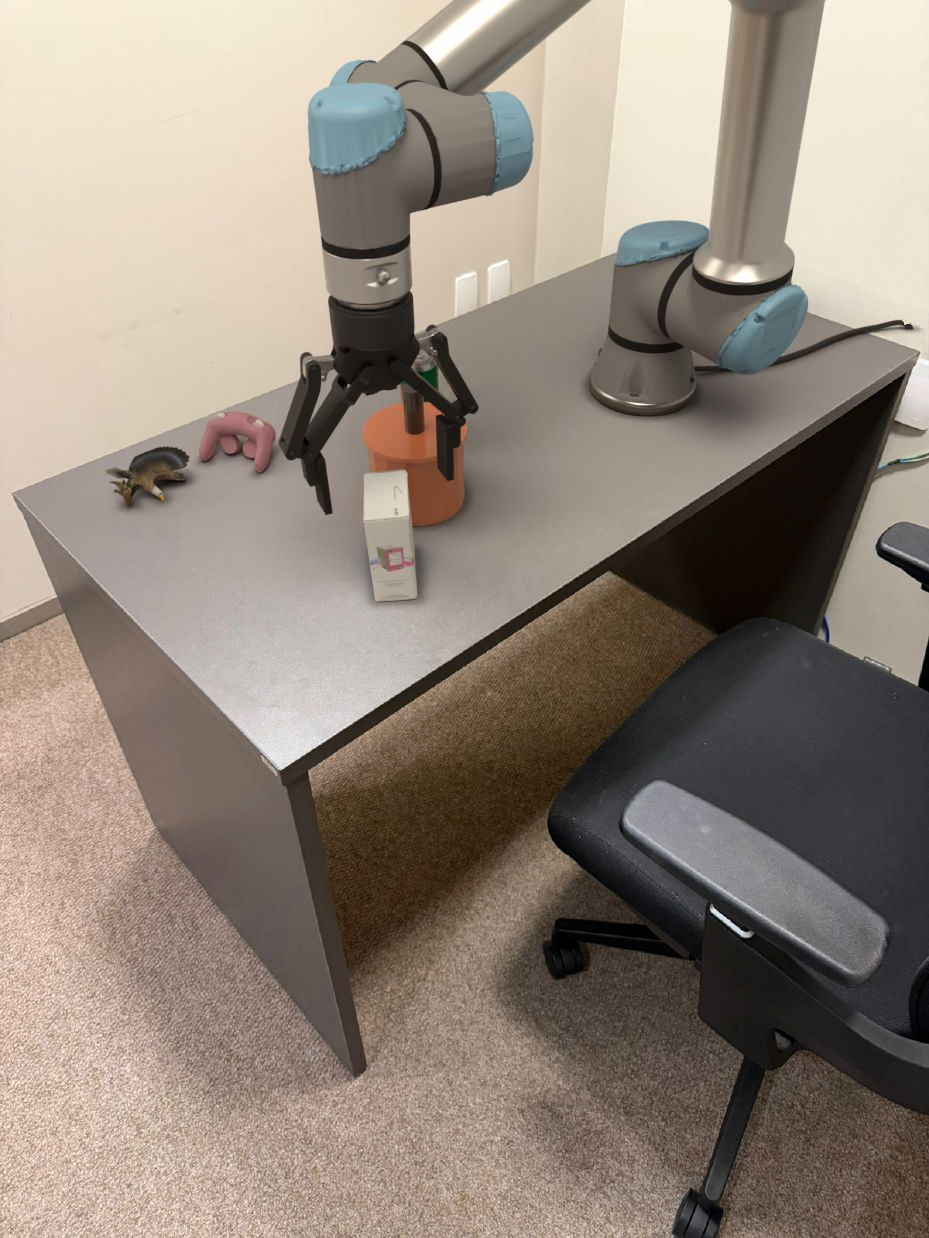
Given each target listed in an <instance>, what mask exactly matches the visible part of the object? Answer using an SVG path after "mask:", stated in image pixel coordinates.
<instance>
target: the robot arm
mask: <svg viewBox="0 0 929 1238" xmlns="http://www.w3.org/2000/svg"><path fill="white" fill-rule="evenodd" d="M591 1H592V0H452V1H450V2H449V3H448V4H446V6H444V7H443V8H442V9H440V11H438V12H436V13H435V15H433V16H432V17H431V18H430V19H429V20H427V21H426V22H425V23H424V24H422V25H421V27H419V28H417V29H416V31H414V32H413V33H412V34H411V35H409V36H408V37H407V38H406V39H404V40H403V41H402V42H400V44H398V45H397V46H396V47H395V48H394V49H392V50H391V51H390V52H388V53H387V54H386V55H385V56H383V57H382V58H381V59H379V60H378V61H376V60H373V59H356V60H351V61H348V62H346V63H345V64H343V65H342V66H340V68H338V70H336V71H335V73H334V75H333V76H332V78H331V80H330V82H329V85H328V86H327V87H324V88H322V89H320V90H318V91H317V92H316V93H314V95H313V96H312V97H311V98H310V100H309V101H308V105H307V132H308V133H307V134H308V148H309V151H308V152H309V154H308V162H309V165H310V168H311V172H312V178H313V185H314V193H315V201H316V208H317V209H316V210H317V216H318V223H319V225H318V226H319V231H320V232H319V233H320V239H321V240H320V242H321V251H322V259H323V260H322V261H323V271H324V280H325V289H326V292H327V293H328V294H329V296H328V299H327V305H328V312H329V322H330V330H331V339H332V348H331V351H330V354H325V355H315V356H314V355H313V354H312V353H311V352H310V351H305V352H303V353H301V354H300V356H299V371H300V373H299V374H300V377H299V379H298V382H297V384H296V388H295V391H294V394H293V396H292V400H291V403H290V406H289V409H288V412H287V415H286V417H285V421H284V425H283V427H282V430H281V433H280V436H279V439H278V442H277V443H278V444H277V445H278V446H279V448H280V450H281V452H282V453H283V456H284V457H285V458H286V459H287V460H288V461H291V462H292V461H295V460H296V459H299V460H300V464H301V468H302V474H303V478H304V480H305V481H306V483H307V484H308V486H309V487H310V488H313V487H314V488H315V494H316V502H317V503H318V505H319V507H320V508H321V510H322V511H323V513H324V515H325V516H329V515H332V514H334V512H333V505H332V498H331V492H330V491H331V490H330V484H329V477H328V470H327V469H328V468H327V461H326V458H325V457H324V455H323V454H322V450H323V448H324V447H325V446H326V444H327V442H328V441H329V439H330V438H331V436H332V435H333V433H334V432H335V431H336V428H337V427H338V426H339V424H340V423H341V421H342V419H343V418H344V416H345V415H346V414H347V411H348V410H349V409H350V407H352V406H355V404H356V403H357V402H358V400H359V398H360V397H361V395H365V396H366V397H367V396H372V395H376V394H378V393H379V392H382V391H394V390H397V389H398V386H400V384H401V383H402V382H403V381H405V382H406V383H407V384H408V385H409V386H410V387H412V388H413V389H414V390H416V391H417V392H418V393H419V394H420V395H422V396H423V397H424V398H425V399H426V400H427V401H428V402H430V403H431V404H432V405H433V406H434V407H435V408H437V409H438V410H439V411H440V412H441V413H442V414H439V415H436V442H437V468H438V470H439V471H440V472H441V473H442V475H443V476H444V477H445V479H446V480H447V481H451V480H454V448H458V447H459V446H460V444H461V427H463V426H464V425H465V423H466V424H467V420H466V418H465V416H467V415H469V414H470V415H475V414H476V413H477V412H478V411H479V409H480V407H479V404H478V403H477V400H476V399H475V397H474V395H473V394H472V392H471V390H470V388H469V386H468V385H467V383H466V381H465V379H464V377H463V376H462V374H461V373H460V371H459V369H458V367H457V366H456V364H455V362H454V360H453V359H452V357H451V354H450V348H449V347H450V346H449V340H448V337H447V335H445V334H444V333H443V331H441V329H440V328H438V327H437V326H436V325H435V324H429V325H427V327H426V329H425V332H423V333H420V334H415V329H416V327H415V326H416V325H415V303H414V295H413V292H412V291H411V289H412V287H413V269H412V268H413V267H412V249H411V248H412V247H411V214H413V213H417V212H421V211H426V210H429V209H433V208H437V207H442V206H446V205H450V204H454V203H458V202H463V201H467V200H471V199H475V198H479V197H491V196H493V195H494V194H495V193H498V192H500V191H503V190H506V189H510V188H513V187H515V186H516V185H518V184H521V182H522V181H523V180H524V179H525V177H526V176H527V174H528V172H529V171H530V169H531V167H532V166H531V165H532V162H533V158H534V146H533V144H534V139H535V138H534V130H533V125H532V122H531V119H530V115H529V113H528V110H527V109H526V108H525V107H526V106H525V105H524V104H523V102H522V101H521V100H520V99H519V98H518V97H517V96H516V95H514V94H513V93H511V92H509V91H504V90H502V91H491V92H488V91H486V89H487V88H488V87H489V86H490V85H492V84H494V82H495V81H496V80H498V79H499V78H500V77H501V76H502V75H504V74H506V72H507V71H509V70H510V69H511V68H513V66H515V65H516V64H517V63H518V62H519V61H521V60H522V59H523V58H524V57H525V56H526V55H528V54H529V53H530V52H532V51H533V50H534V49H535V48H537V46H539V45H540V44H541V43H542V42H543V41H545V40H546V39H547V38H548V37H550V36H551V35H552V34H553V33H554V32H556V30H558V29H559V28H561V26H563V25H564V24H565V23H566V22H568V21H569V20H570V19H571V18H572V17H574V16H575V15H576V14H578V12H579V11H581V10H582V9H584V7H586V6H588V4H589V3H590V2H591ZM728 2H729V3H730V6H731V9H730V19H729V29H728V40H727V48H726V51H727V52H726V57H725V58H726V59H725V69H724V78H723V79H724V80H723V89H722V97H721V98H722V99H721V108H720V116H719V117H720V119H719V128H718V137H717V148H716V156H715V157H716V158H715V167H714V175H713V176H714V178H713V187H712V195H711V196H712V197H711V208H710V217H709V228H708V227H707V226H706V225H704V224H702V223H698V222H695V221H688V220H677V219H676V220H673V219H672V220H671V219H669V220H668V219H667V220H657V221H655V220H654V221H650V222H646V223H640V224H638V225H635V226H632V227H631V228H628V229H626V231H625V232H623V234H621V237H620V238H619V240H618V244H617V251H616V256H615V260H614V262H613V273H612V274H613V276H612V285H611V288H612V289H611V295H610V296H611V298H610V305H609V306H610V307H609V319H608V328H607V336H606V338H605V340H604V343H603V345H602V347H600V348H599V350H598V353H597V356H598V358H597V360H596V361H595V362H594V365H592V368H591V370H590V376H589V390H590V393H591V394H592V396H593V397H594V398H595V399H596V400H597V401H598V402H599V403H600V404H602V405H604V406H606V407H608V408H610V409H611V410H615V411H617V412H620V413H624V414H629V415H636V416H660V415H667V414H671V413H674V412H677V411H679V410H681V409H683V408H685V407H686V406H687V405H689V404H690V403H691V402H692V400H693V398H694V396H695V390H696V387H697V377H696V373H698V372H699V373H700V372H701V373H702V372H723V371H732V372H734V373H735V374H738V375H741V376H750V375H756V374H757V373H760V372H762V371H764V370H765V369H767V368H768V367H770V366H772V365H776V364H780V363H784V362H787V361H790V360H793V359H796V358H798V357H802V356H805V355H807V354H810V353H812V352H815V351H817V350H818V349H819V350H820V349H821V348H823V347H825V346H827V345H829V344H831V343H835V342H836V341H837V342H838V341H840V340H842V339H845V338H848V337H853V336H855V335H858V334H863V333H868V332H873V331H878V330H882V329H887V328H890V327H896V326H902V327H904V328H906V329H907V330H908V331H912V330H913V331H914V330H915V328H914V326H913V325H912V323H910V324H906V325H904V322H903V321H902V320H903V319H894V320H889V321H884V322H881V323H877V324H871V325H866V326H862V327H861V326H860V327H858V328H854V329H853V328H852V329H850V330H847V331H844V332H841V333H838V334H835V335H832V336H830V337H828V338H825V339H823V340H821V341H818V342H816V343H814V344H812V345H810V346H808V347H805V348H802V349H799V350H796V351H795V352H794V351H793V352H790V353H787V354H785V355H784V353H785V352H786V351H787V349H788V348H789V347H790V346H791V344H792V343H793V342H794V341H795V339H796V337H797V335H798V334H799V332H800V330H801V328H802V326H803V324H804V322H805V319H806V317H807V313H808V310H809V297H808V295H807V294H806V292H805V290H804V289H803V288H802V287H801V286H800V285H797V284H796V283H794V284H793V282H792V279H793V275H794V267H795V261H796V256H795V252H794V251H793V249H792V248H791V247H790V246H789V245H788V244H787V242H785V241H786V235H787V228H788V223H789V216H790V211H791V205H792V199H793V194H794V186H795V182H796V175H797V170H798V162H799V157H800V151H801V146H802V140H803V135H804V127H805V121H806V116H807V109H808V104H809V97H810V92H811V87H812V80H813V76H814V75H813V74H814V69H815V63H816V57H817V51H818V46H819V40H820V39H819V38H820V34H821V27H822V21H823V15H824V9H825V3H826V0H728ZM420 349H423V350H424V351H425V352H426V353H427V354H428V355H429V356H432V357H433V359H434V361H435V362H436V364H437V366H438V370H439V371H440V372H441V374H442V376H443V378H444V379H445V381H446V382H447V384H448V387H450V389H451V391H452V393H453V394H454V396H455V398H456V399H455V400H453V401H450V400H449V399H448V398H447V397H446V396H444V395H443V394H442V393H441V392H440V390H439V391H438V390H436V389H435V388H434V387H433V386H432V385H431V384H430V383H429V382H427V381H426V380H425V379H424V378H423V377H422V376H421V375H420V374H418V373H417V372H416V371H415V370H414V369H413V368H412V367H411V366H412V365H413V363H414V361H415V359H416V358H417V356H418V354H419V352H420ZM693 352H694V353H695V354H696V355H697V354H698V355H699V356H701V357H703V358H704V359H707V360H708V361H711V362H712V363H714V364H716V365H695V364H694V357H693ZM332 370H334V371H335V373H337V374H336V376H335V377H334V379H333V380H332V382H331V389H330V390H329V392H328V394H327V395H326V396H325V398H324V400H323V401H322V403H321V404H320V406H319V408H318V409H317V410H316V413H315V414H314V416H313V413H314V411H315V408H316V406H317V402H318V399H319V397H320V393H321V390H322V389H321V388H322V383H325V382H326V381H327V377H328V374H329V372H330V371H332ZM443 414H444V415H443ZM312 416H313V417H312Z"/></svg>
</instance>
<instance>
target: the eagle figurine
mask: <svg viewBox="0 0 929 1238" xmlns="http://www.w3.org/2000/svg"><path fill="white" fill-rule="evenodd" d="M190 458H191V457H190V455H189V454H187V452H186V451H184V450H183V449H181V448H178V447H177V446H176V447H174V446H169V445H167V446H165V445H163V446H158V447H154V448H152V449H150V450H147V451H144V452H143V453H140V454H137V455H135V456H134V457H133V458H132V460H131V462H130V464H129V465H128V469H121V468H119V467H116V466H112V467H111V466H110V467H107V468H104V472H105V473H106V474H107V475H108V476H111V477H114V478H115V479H122V481H121V482H120V481H117V480H110V481H109V484H113V485H115V486H116V487H117V488H118V489H113V492H114V493H116V494H118V495H120V496H121V497H123V500H124V505H125V507H128V506H129V505H130V504H131V503H132V502H133V499H134V496H135V494H136V493H137V491H138V490H140V489H141V490H143V491H145V492H147V493H150V494H152V495H154V496H155V497H157V498H159V499H160V500H161V501H162V502H164V501H165V497H164V494H163V492H162V490H161V489H160V488H158V487H157V486H156V484H154V483H155V482H156V481H163V480H166V481H167V480H168V481H169V480H173V481H182V482H183V481H184V482H185V480H186V479H187V478H186V477H187V476H186V474H184V473H183V472H179V470H183V469H185V468H186V467H187V466H188V464H187V463H189V462H190ZM125 479H127V480H125Z"/></svg>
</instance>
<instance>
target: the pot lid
mask: <svg viewBox="0 0 929 1238" xmlns="http://www.w3.org/2000/svg"><path fill="white" fill-rule="evenodd" d="M402 397H403V403H397V404H393V405H390V406H387V407H385V408H381V409H380V410H378V411H376V412H375V413H373V414H372V415H371V416H370V417H369V418H368V419H367V420H366V422H365V423H364V425H363V427H362V440H363V444H364V445H365V447H366V448H367V450H368V449H369V450H370V451H371V452H372V453H374V454H375V455H377V456H379V457H381V458H383V459H386V460H389V461H394V462H399V463H425V462H431V461H435V460H437V442H436V415H439V414H442V413H441V412H440V411H439V410H438V409H437V408H435V407H434V406H433V405H432V404H431V403H428V402H424V398H423V396H422V395H420V394H419V393H418V392H417V391H416V390H414V389H413V388H412V387H410V386H409V385H408V384H404V385H403V386H402ZM443 415H444V414H443ZM467 438H468V424H467V422H466V423H465V425H464V426H463V427H461V444H460V446H459V447H458V448H454V452H455V451H457V450H458V449H459V448H460V447H461V446H462V445H463V444H465V443H466V441H467Z"/></svg>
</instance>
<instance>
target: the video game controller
mask: <svg viewBox="0 0 929 1238" xmlns="http://www.w3.org/2000/svg"><path fill="white" fill-rule="evenodd" d="M276 433H277V432H276V430H275V427H274V426H273V425H272V424H271V423H270V422H268V421H265V420H263V419H262V418H260V417H258V416H256V415H254V414H251V413H248V412H242V411H222V412H218V413H216V414H213V416H212V417H211V418H210V419H208V422H207V424H206V426H205V429H204V433H203V435H202V438H201V440H200V445H199V447H198V455H199V459H200V461H202V462H207V461H209V460H210V459H211V458H212V456H213V455H214V453H215V451H216V450H217V447H218V446H219V444H220V445H221V447H222V449H223V451H224V453H226V454H229V455H231V454H237V453H238V452H240V450H241V449H242V452H243V454H244V455H245V457H246V458H250V459H253V462H254V464H253V465H254V469H255V471H256V472H257V473H262V472H263V471H264V470H265V469H266V468H267V466H268V465H269V462H270V460H271V456H272V452H273V446H274V442H275V441H276V438H277V434H276ZM238 436H240V437H243V438H247V439H246V440H245V442H244V443H243V445H242V443H241V440H240V438H239V437H238ZM241 447H242V448H241Z"/></svg>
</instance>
